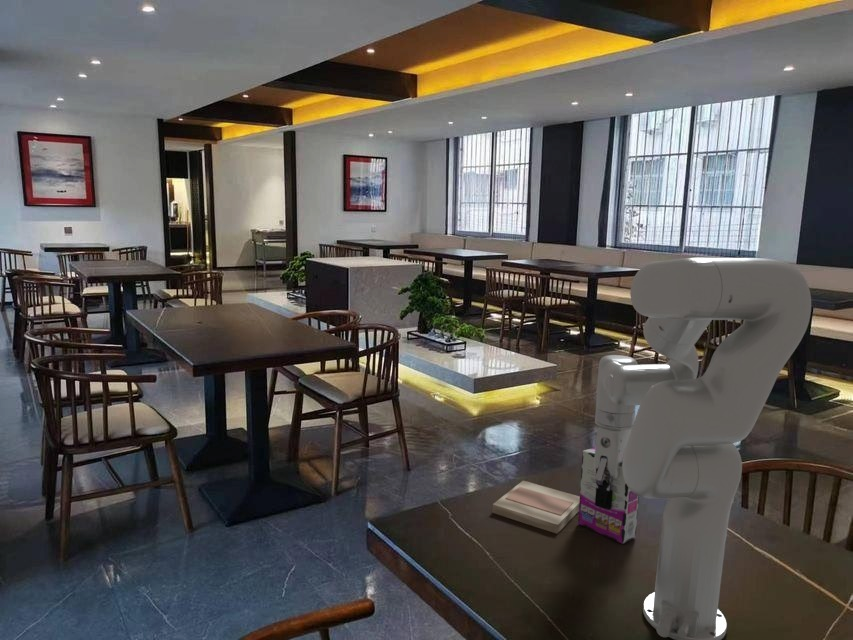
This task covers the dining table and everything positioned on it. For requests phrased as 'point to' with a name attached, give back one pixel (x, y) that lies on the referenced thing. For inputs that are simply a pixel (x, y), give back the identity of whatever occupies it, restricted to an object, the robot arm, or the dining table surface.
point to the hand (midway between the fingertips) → (608, 500)
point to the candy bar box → (606, 522)
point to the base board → (538, 506)
